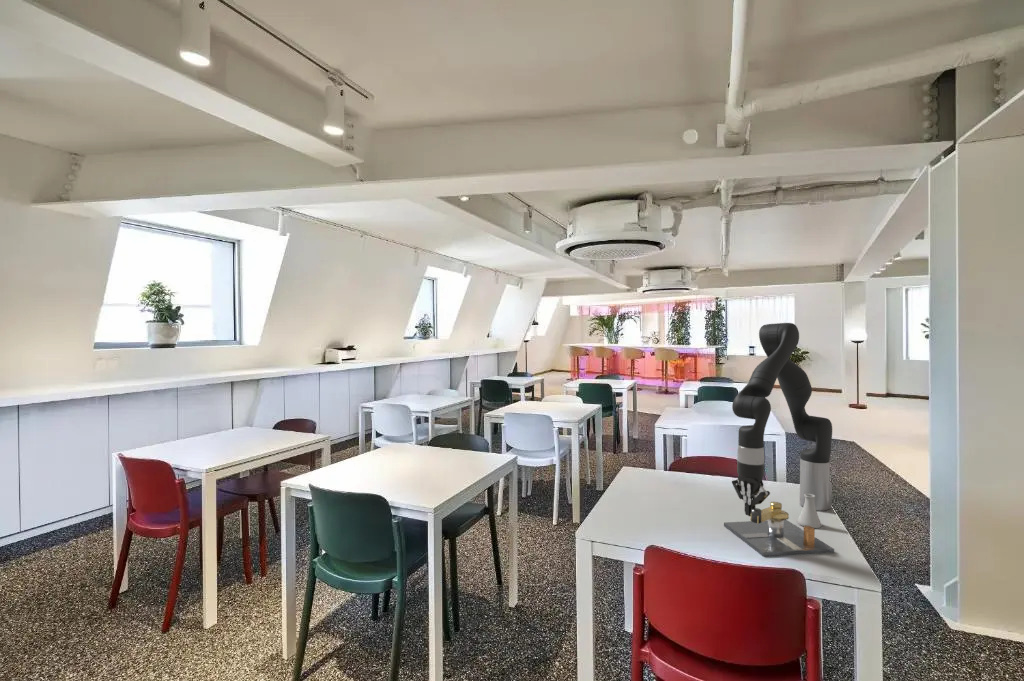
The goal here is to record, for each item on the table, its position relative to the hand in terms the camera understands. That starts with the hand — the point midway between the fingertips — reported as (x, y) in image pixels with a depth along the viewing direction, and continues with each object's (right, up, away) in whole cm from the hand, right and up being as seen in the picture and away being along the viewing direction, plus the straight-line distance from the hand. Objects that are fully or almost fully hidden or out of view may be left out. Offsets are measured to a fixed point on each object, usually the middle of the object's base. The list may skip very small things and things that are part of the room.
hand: (749, 515), depth 155 cm
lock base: (+9, -8, +2) cm, 12 cm away
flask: (+26, -8, +13) cm, 30 cm away
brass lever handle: (+5, -1, -1) cm, 6 cm away
